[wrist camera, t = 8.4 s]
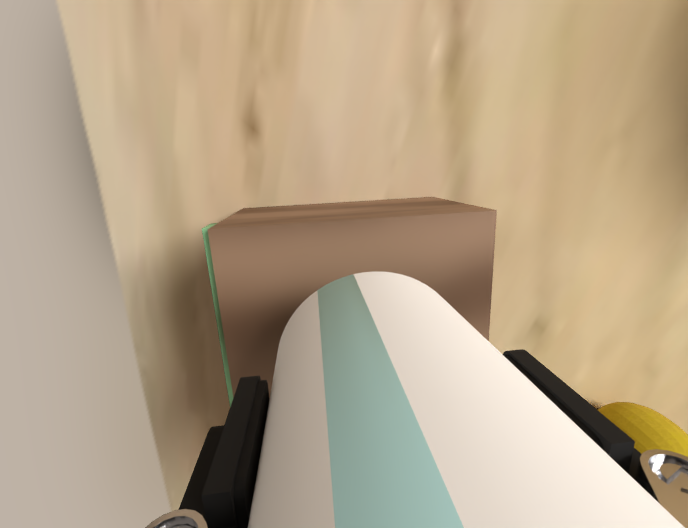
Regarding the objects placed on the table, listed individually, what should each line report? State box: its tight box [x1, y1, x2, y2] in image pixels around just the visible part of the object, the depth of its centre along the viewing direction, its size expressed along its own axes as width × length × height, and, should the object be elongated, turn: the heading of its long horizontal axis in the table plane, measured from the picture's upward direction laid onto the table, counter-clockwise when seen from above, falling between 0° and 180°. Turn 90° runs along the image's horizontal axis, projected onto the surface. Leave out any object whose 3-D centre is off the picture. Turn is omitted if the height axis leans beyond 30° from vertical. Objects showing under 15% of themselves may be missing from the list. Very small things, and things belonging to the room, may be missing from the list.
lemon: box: [597, 402, 688, 457], centre depth 25 cm, size 6×6×8 cm
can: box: [248, 271, 685, 528], centre depth 8 cm, size 7×7×12 cm
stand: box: [202, 197, 497, 407], centre depth 21 cm, size 20×12×8 cm, turn 3°
